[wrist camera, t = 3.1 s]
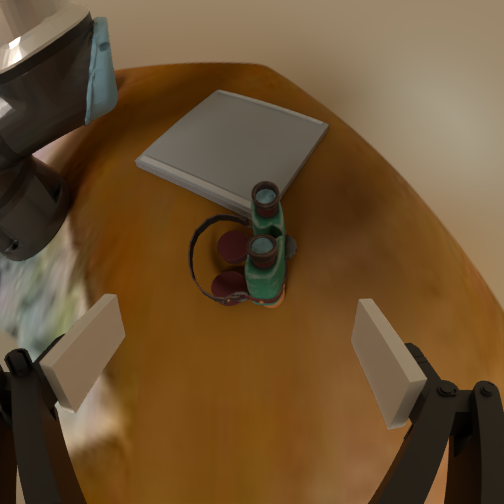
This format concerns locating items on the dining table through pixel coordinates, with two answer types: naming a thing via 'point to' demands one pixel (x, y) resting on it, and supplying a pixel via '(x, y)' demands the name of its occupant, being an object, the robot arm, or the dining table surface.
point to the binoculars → (253, 252)
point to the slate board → (233, 148)
